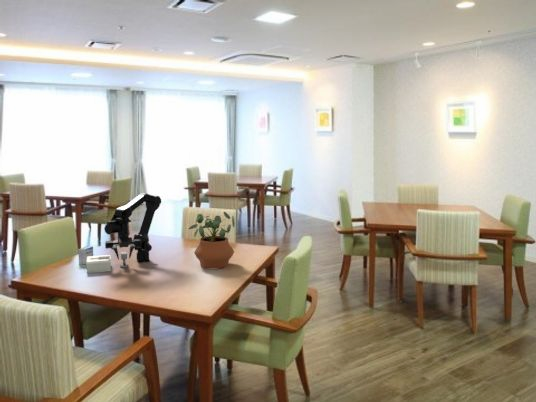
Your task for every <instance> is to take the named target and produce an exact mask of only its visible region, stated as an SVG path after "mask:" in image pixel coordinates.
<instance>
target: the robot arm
mask: <svg viewBox="0 0 536 402" xmlns="http://www.w3.org/2000/svg"><path fill="white" fill-rule="evenodd" d="M144 203H145V208H146V210H145V213H144V215H143V219H142V223H141V226H140V227H139V228H140V229H139V232H138V233H136V234H134V235H133V237H129V223H131V222H132V220H131V219H130V217H131V216H132V214H133V212H134V211H135V210H136V209H137V208H138V207H140V206H141V205H142V204H144ZM161 203H162V199H161V197H160V196H159V195H152V194H149V193H145V192H141V193H139V194H138V196H136V197H135V198H133V199H132V200H131V201H129V202H128V203H127V204H125V205H122V206H119V207H117V208H115V210H114V214H113V215H112V218H111V219H110V221H109V220H108V221H107V222H106V224H105V225H104V232H105V234H106V235H113V234H117V241H116V242H114V241H113V240H108V241H105V242H104V243H105V247H104V248H105V249H111V250H113V252H115V255H116V258H117V260H120V257H119V251H118V247H119V248H120V249H121V248H129V252H128V258H129V259H131V257H132V253H133V250H134V251H137V252H136V261H137V262H138V263H142V262H143V263H144V262H151V261H150V252H151V251H152V248H153V246H152V245H151V244H150V243H149V242H150V238H149V231H150V228H151V225H152V224H153V223H152V222H153V218H154V216H155V212H156V211H157V210H158V209H159V208H160V206H161Z"/></svg>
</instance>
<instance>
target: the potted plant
mask: <svg viewBox="0 0 536 402" xmlns="http://www.w3.org/2000/svg"><path fill="white" fill-rule="evenodd" d="M223 215H224V216H225V219H223V220H222V218H221V217H222V216H221V215H215V217H214V218H213V219H211V218H210V215H207V216H205V218H206V219H205V221H204V215H203V214H202V213H198V214H197V215H196V216H197V217H196V220H195V224H193V225H190V226H189V228H188V230H191V229H196V230H195V232H194V234H193V238H195V237H196V236H197V234H198V233H199V235H200V237H201V238H200V239H199V240H200V241H199V244H198V245H197V247H196V248H195V250H194V251H193V253H194V256H195V257H196V258H197V259H198V261H199V264H200V267H201V268H202V269H207V268H220V269H223V268H222V267H224V268H226V267H225V266H227V265H228V266H229V262H230V260H231V259H232V257H233V255H234V253H235V250H234V248H233V246H232V245H231V244H230V243H229V238H228V237H227V236H226V233H227V234H229V233H230V232H231V228H232V227H233V228H235V217H234V215H232V217H230V215H229V213H227V212H226V211H223ZM226 219H228V220H231V223H232V225H231V224H228V225H227V227H226V229H225V228H223V226H225V224H224V225H222V226H221V225H220V224H221V223H222V222H223V221H225V220H226ZM203 221H204V225H203V226H202V225H199V227H198V224H202V223H203ZM197 227H198V228H197ZM205 228H206V229H207V230H208V231H209V232H210V234H211V235H210V234H208V235H205V234H207V232H205ZM209 228H210V229H211V230H212V231H211V230H210V229H209ZM218 231H219V233H218ZM228 266H227V267H228Z"/></svg>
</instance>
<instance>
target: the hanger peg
mask: <svg viewBox="0 0 536 402" xmlns="http://www.w3.org/2000/svg"><path fill="white" fill-rule="evenodd" d="M120 259H121V260H122V263H121V264H120V266H119V268H120V269H127V268H129V264H128V263H126V262H127V261H126V260H127V259H128V252H127V251H126V250H125V251H120Z"/></svg>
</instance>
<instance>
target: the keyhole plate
mask: <svg viewBox="0 0 536 402" xmlns="http://www.w3.org/2000/svg"><path fill="white" fill-rule="evenodd" d="M111 259H112V257H111V254H103V255H93V256H87V261H86V264H85V265H86V274H93V273H104V272H105V273H106V272H112V262H111Z"/></svg>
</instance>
